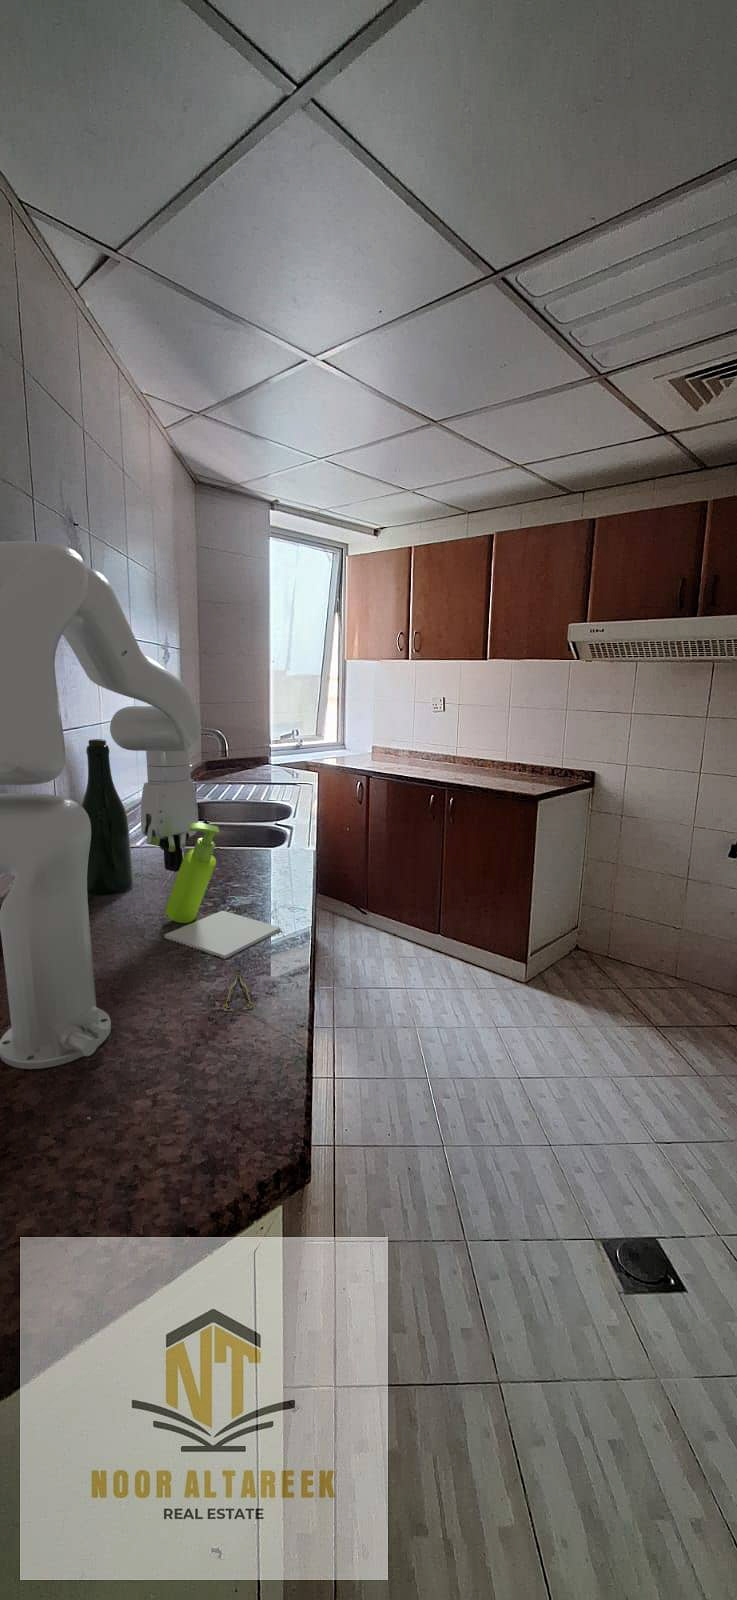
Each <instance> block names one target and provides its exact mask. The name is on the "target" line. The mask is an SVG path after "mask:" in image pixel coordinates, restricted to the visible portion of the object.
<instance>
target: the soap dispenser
mask: <svg viewBox="0 0 737 1600" xmlns="http://www.w3.org/2000/svg"><path fill="white" fill-rule="evenodd" d="M219 828H220V827H219V826H217V825H212V824H209V823H203V822H198V823H189V829H190V830H191V831H196V832H202V833H204V835H203V837H199V838H197V840H196V843H195V846H194V848H192V849H188V850H187V851H185V853H184V854H183V860H182V863H181V866H180V869H179V870H178V871H177V875H176V879H175V881H174V884H173V887H172V890H171V893H170V894H169V897H168V901H167V904H166V906H165V909H164V910H165V914H166V916H167V917H168V918H169V919H170V920H172V921H174V922H176V923H178V924H179V923H180V924H190V923H192V922H194V920H195V919H196V917H197V915H198V912H199V910H200V907H201V904H202V902H203V899H204V896H205V893H206V891H207V888H208V886H209V883H210V880H211V879H212V875H213V873H214V870H215V866H216V865H217V859H216V857H215V856H214V855H213V853H214V850H215V848H216V843H215V842H214V841H213V840H214V837H215V835H217V836H219V835H220V829H219Z"/></svg>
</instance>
